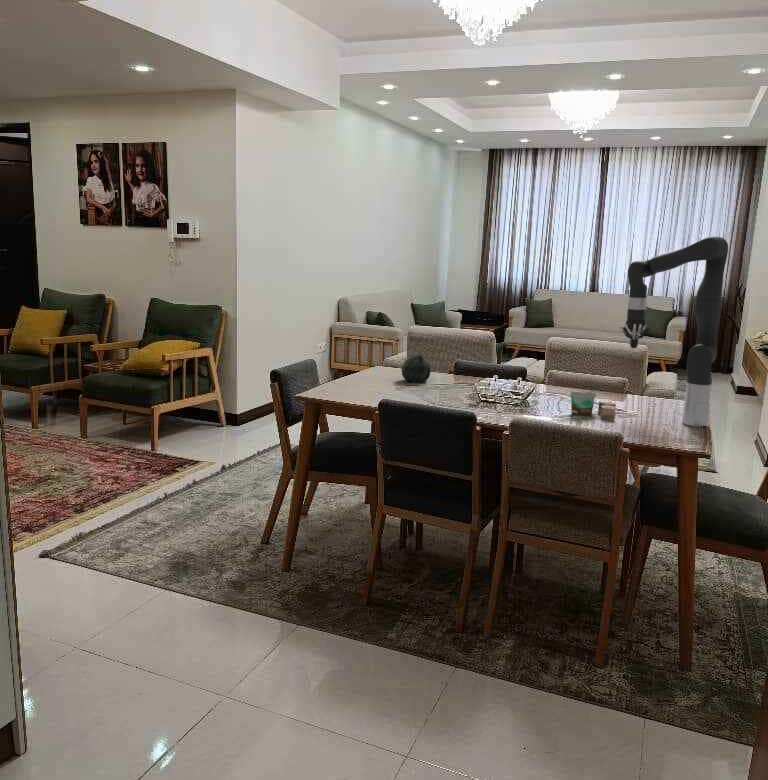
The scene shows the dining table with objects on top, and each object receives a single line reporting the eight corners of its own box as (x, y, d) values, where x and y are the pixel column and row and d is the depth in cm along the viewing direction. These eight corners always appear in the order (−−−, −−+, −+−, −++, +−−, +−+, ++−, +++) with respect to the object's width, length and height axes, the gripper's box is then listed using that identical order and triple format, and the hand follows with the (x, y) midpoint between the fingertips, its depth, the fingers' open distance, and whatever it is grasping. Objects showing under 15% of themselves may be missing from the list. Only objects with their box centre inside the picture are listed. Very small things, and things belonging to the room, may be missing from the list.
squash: (399, 367, 375) (403, 349, 363) (427, 368, 377) (432, 350, 365) (401, 389, 366) (405, 371, 354) (429, 390, 368) (434, 372, 356)
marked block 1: (614, 415, 303) (615, 403, 302) (604, 415, 302) (605, 403, 301) (608, 412, 308) (609, 400, 307) (598, 412, 307) (599, 401, 306)
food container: (577, 417, 298) (579, 394, 296) (568, 413, 303) (570, 391, 301) (601, 415, 303) (603, 392, 301) (591, 411, 308) (593, 389, 306)
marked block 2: (614, 420, 294) (615, 408, 293) (601, 419, 295) (602, 407, 294) (612, 417, 299) (613, 405, 298) (600, 416, 300) (601, 404, 299)
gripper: (626, 308, 300) (623, 349, 303) (655, 308, 301) (652, 349, 305) (618, 307, 307) (615, 346, 310) (647, 307, 308) (643, 346, 312)
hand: (633, 347), depth 307 cm, fingers closed
